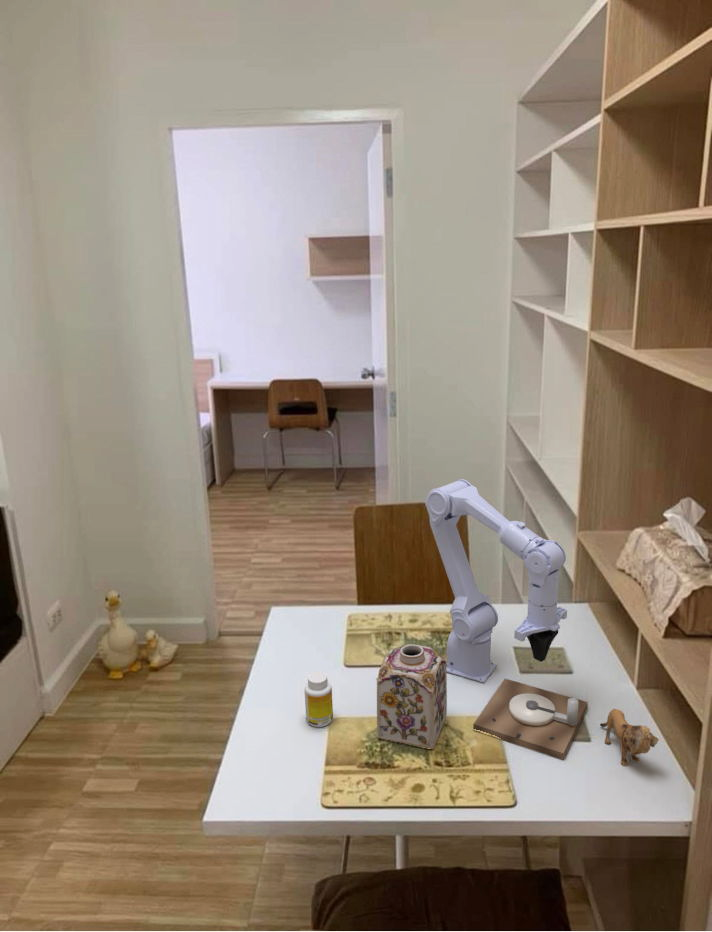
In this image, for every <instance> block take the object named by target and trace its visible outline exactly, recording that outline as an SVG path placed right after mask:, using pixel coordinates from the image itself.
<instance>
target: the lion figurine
mask: <svg viewBox="0 0 712 932" xmlns="http://www.w3.org/2000/svg"><path fill="white" fill-rule="evenodd" d="M599 726H600V727H602V728H605V727H606V732H605V738H604V744H606V745H611V743H612V741H611V732H612V733H613V734H614V735H615V736H616V738H617V740H618V741H619V742H620V751H621V755H620V756H621V758H620V764H621V766H624V767H627V766H628V763H629V762H628V758H627V756H628V753H629V754H630V758H631V760H632V761H633V762H635V763H638V762H639V761H640V758H639V757H638V756H637V755H641V754H648V752H650V750H651V748H655V747H656V745H657V744H658V741H659V738H658V737H657V736H655V735H654V734H653V733H652V732H651V729H650V727H648V726H647V725H642V724H641V725H640V724H639V725H632V724H630V723H628V722H627V720H626V718H625V713H624V712H623V711H622V710H620V709H618V708H613V709H611V710H610V711H609V712H608V715H607V719H606V722H605V723H599Z"/></svg>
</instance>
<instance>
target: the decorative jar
mask: <svg viewBox="0 0 712 932" xmlns="http://www.w3.org/2000/svg"><path fill="white" fill-rule="evenodd" d="M446 668H447V659H445V658H444V656H442V655H441V654H440V653H438V652H437V651H435V650H434V649H433V648H432V647H430V646H425V645H420V644H413V643H412V644H411V643H410V644H405V645H401V646H397V647H395V648H394V647H393V648H391V649H389V650H388V651H387V652H386V654H385V655H384V656H383V659H382V661H381V665H380V668H379V670H378V675H377V678H376V725H377V726H376V727H377V728H376V729H377V730H376V731H377V738H378V739H379V738H381V739H380V740H382V739H385V740H384V741H388V740H391V741H390V742H392V741H395V742H394V743H397V742H401V743H406V744H410V745H416V746H419V747H425V748H430V749H433V748H435V746H436V743H437V741H438V739H439V737H440V734H441V731H442V728H443V727H444V726H443V725H444V723H445V720H446V717H447V712H448V711H447V709H448V708H447V707H448V695H447V694H448V689H447V688H448V687H447V679H448V678H447V677H448V676H447V673H448V672H447V670H446ZM401 743H400V744H401ZM406 744H405V745H406ZM410 745H409V746H410ZM419 747H418V748H419ZM433 750H434V749H433Z"/></svg>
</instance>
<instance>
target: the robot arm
mask: <svg viewBox="0 0 712 932" xmlns="http://www.w3.org/2000/svg"><path fill="white" fill-rule="evenodd" d="M424 504H425V508H426V510H427V513H428V516H429V525H430V529H431V531H432V534H433V538H434V540H435V543H436V547H437V549H438V552H439V555H440V558H441V561H442V563H443V567H444V570H445V572H446V576H447V579H448V581H449V584H450V587H451V590H452V593H453V596H454V600H453V603H452V604H451V608H450V609H449V614H450V616H451V631H450V632H449V635H448V638H447V642H446V662H447V663H446V666H447V667H446V670H447V673H449V674H452V675H455V676H458V677H463V678H465V679H466V678H467V679H469V680H473V681H476V682H479V683H486V681H487V679H488V678H489V677H490V676H491V674H492V672H493V671H494V670H495V669H496V668H497V663H495V662H491V655H492V654H491V651H492V648H491V647H492V642H491V641H492V633H493V628H494V627H496V626H497V624H498V622H499V615H498V612H497V610H496V608H495V607H494V606H493V604H492V603H491V601H490V598H489V596H488V595H487V594H485V593H483V592H481V591H479V588H478V585H477V583H476V579H475V577H474V573H473V571H472V567H471V564H470V561H469V559H468V556H467V553H466V551H465V547H464V544H463V541H462V539H461V536H460V532H459V529H458V526H457V524H458V522H459V520H460V518H461V517H462V516H467V515H468V516H471V517H472V518H473V519H476V520H477V522H480V523H481V524H483V525H485V527H488V528H489V530H492V531H493V532H495V533H497V535H498V536H499V542H500V543H501V544H502V546H504V547H506V548H507V549H508V550H510V551H511V552H512V553H513V554H514V555H516V556H517V557H519V558H520V559H521V560H522V561H523V564H524V567H525V569H526V571H527V573H528V576H527V577H528V580H529V582H528V599H527V615H526V617H525V618H524V620H523V621H522V622H521V624H519V626H518V627H517V628H515V629H514V633H513V634H514V636H513V637H514V638H513V639H516V640H517V641H519V642H521V643H523V642H524V641H526V638H527V639H528V642H529V644H530V648H531V652H532V658H533V659H535V660H537V661H538V662H540V663H542V662H544V661H545V660H546V659H547V656H548V652H549V651H550V647H551V645H552V644H553V641H554V640H555V638H556V637H557V635H558V634H559V629H561V625H560V624H559V623H560V621H561V620H565V619H567V617H568V609H566V608H563V607H561V606H558V598H559V597H558V596H559V584H560V583H559V582H560V580H559V579H560V568H561V567H563V566H564V564H565V563H566V560H567V559H566V558H567V555H566V553H565V550H564V548H563V547H562V545H561V544H559V542H557V541H556V540H553V539H545V538H543V537H541V536H539V535H538V534H536V533H535V532H533V531H532V530H531V529H530V528H528V527H527V524H526V523H524V521H518V520H512V521H511V520H508V518H506V517H505V516H504V515H503V514H501V512H499V511H498V510H497V509H496V508H495V507H494V506H492V505H491V503H489V502H488V501H486V500H485V499H484V498H483V497H481V495H480V494H479V491H478V488H477V487H476V486H474V485H472V484H471V483H470V482H469V481H468V480H467V479H463V478H462V479H461V478H460V479H457V480H456V481H453V482H451V483H448V484H445V485H441V486H439V487H438V488H437V487H436V488H432V489H431V490H429V492H428V494H427V496H426V499H425V500H424Z"/></svg>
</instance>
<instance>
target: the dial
mask: <svg viewBox="0 0 712 932" xmlns="http://www.w3.org/2000/svg"><path fill="white" fill-rule="evenodd" d="M577 699H578V698H576V697H575V698H574V697H572V698H569V699H568V706H567V715H564V714H561V713H557V712H555V707H554V705H553V703H552V702H551V701H550V700H549V699H547V698H545V697H543V696H541V695H537V694H531V693H525V694H519V695H517V696H515V697H513V698H512V699H511V700H510V703H509V711H510V714H511V716H512V717H513V718H514V719H516V720H517V721H519V722H521V723H523V724H527V725H532V726H540V725H545V724H548V723H549V722H551V721H552V720H556V721H559V722H563V723H567V724H568V725H570V726H575V725H577V716H578V700H577Z"/></svg>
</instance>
